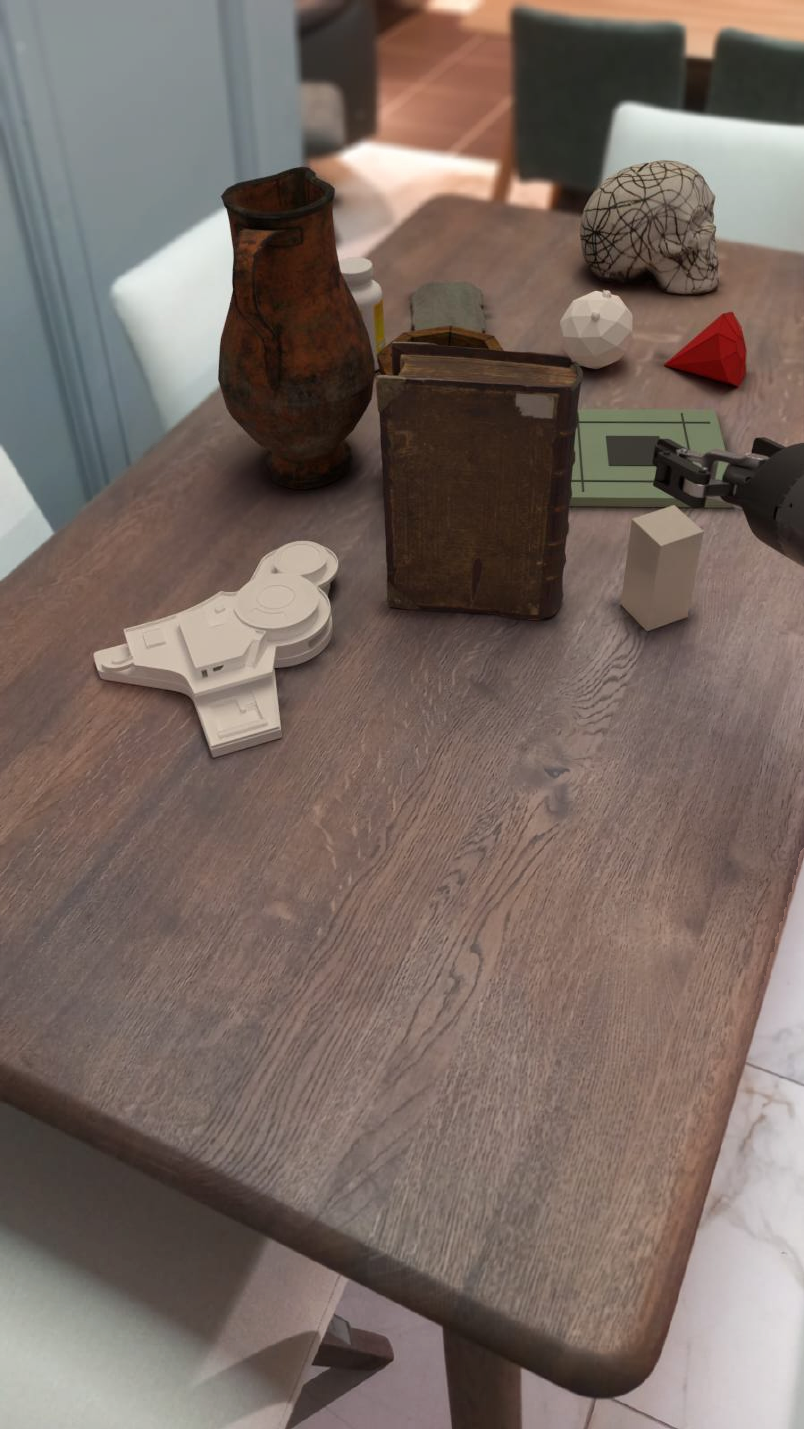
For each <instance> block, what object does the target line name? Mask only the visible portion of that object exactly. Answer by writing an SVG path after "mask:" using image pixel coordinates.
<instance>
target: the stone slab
mask: <svg viewBox="0 0 804 1429" xmlns="http://www.w3.org/2000/svg"><path fill="white" fill-rule="evenodd" d="M482 293H483V292H482V290H481V289H480V288H479V287H478V286H476V285H475V284H473V283H472V282H470V281H442V282H440V281H430V282H427V283H426V282H425V283H424V284H422V285H420V286H419V287H418V288H416V291H415V292H414V293H413V294H412V296H411V298H410V305H411V312H412V317H411V321H410V322H411V323H412V326H413V331H417V330H423V329H430V328H436V327H443V326H450V325H451V326H455V327H459V328H464V329H468V330H472V331H476V332H480V333H484V331H485V330H486V329H487V326H486V321H487V320H486V318H485V315H486V312H485V311H484V310H483V309H482V306H483V304H484V302H483V294H482Z"/></svg>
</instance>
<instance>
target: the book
mask: <svg viewBox="0 0 804 1429" xmlns="http://www.w3.org/2000/svg"><path fill="white" fill-rule="evenodd" d="M391 354H392V373H393V375H380V374H379V375H376V381H375V384H376V385H375V388H376V390H375V391H376V403H377V404H376V405H377V412H378V413H379V415H378V416H379V431H380V432H379V433H380V434H379V435H380V437H379V438H380V439H379V440H380V454H381V467H382V468H381V472H382V492H383V509H384V510H383V511H384V538H385V563H386V597H387V599H386V600H387V606H388V607H391V608H397V609H402V610H403V609H404V610H412V611H413V610H415V611H441V612H444V611H445V612H462V613H463V612H464V613H465V612H466V613H476V614H486V615H487V614H488V615H495V616H502V617H507V618H511V619H518V620H528V621H541V620H542V621H543V619H545V618H550V617H552V616H554V615H555V613H557V612H558V610H559V609H560V607H561V605H562V602H563V599H564V590H563V586H564V585H563V584H564V583H563V582H564V580H563V578H564V568H565V566H566V564H567V554H566V546H567V539H568V538H567V537H568V534H569V532H570V522H569V515H570V506H569V505H570V499H571V497H572V488H571V481H572V470H573V465H574V463H575V455H576V453H575V450H574V446H575V434H576V428H577V426H578V422H579V416H578V409H579V400H580V394H581V387H582V383H583V377H584V372H583V369H582V368H581V366H580V365H579V364H578V363H577V362H574V361H572V360H571V359H570V357H569V356H568V355H567V354H566V355H565V354H556V353H549V352H548V353H547V352H536V351H513V350H512V351H511V350H504V351H502V350H494V349H480V348H466V347H453V346H442V345H437V344H434V343H425V342H393V343H392V345H391Z"/></svg>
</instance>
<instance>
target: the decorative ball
mask: <svg viewBox="0 0 804 1429" xmlns="http://www.w3.org/2000/svg"><path fill="white" fill-rule="evenodd" d="M633 317H634V316H633V313H632V312H631V311H630V310H629V307H627V305H626V304H625V303H624V302H623V300H622V299H621V297H620V296H619V295H615V294H612V293H611V291H610V290H605V289H603V290H602V291H599V290H594V291H592V292H588V293H587V294H585V295H581V296H579V297H578V298H575V299H573V300H572V301H571V303H570V304H569V306H568V307H567V309H566V310H565V312H564V314H563V315H562V317H561V319H560V320H559V333H560V334H559V338H560V339H559V340H560V342H559V343H560V347H561V348H562V350H563V351H564V352H565V354H566V356H568V357H569V358H570V359H571V360H572V361H574V362H577V363H578V364H579V366H580V367H585V368H588V369H593V370H598V369H601V368H604V367H606V366H609V365H612V364H613V363H616V362H618V361H619V360H620V359H621V358H622V357H623V356H624V355H625V353H626V352H628V349H629V347H630V345H631V343H632V341H633V340H634V339H633V335H634V334H633V330H634V328H633V324H634V323H633V322H634V318H633Z"/></svg>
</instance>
